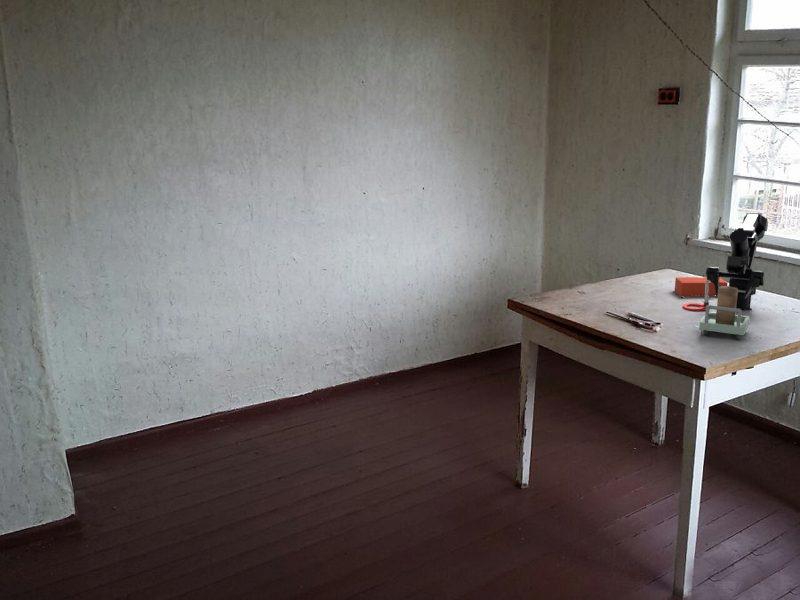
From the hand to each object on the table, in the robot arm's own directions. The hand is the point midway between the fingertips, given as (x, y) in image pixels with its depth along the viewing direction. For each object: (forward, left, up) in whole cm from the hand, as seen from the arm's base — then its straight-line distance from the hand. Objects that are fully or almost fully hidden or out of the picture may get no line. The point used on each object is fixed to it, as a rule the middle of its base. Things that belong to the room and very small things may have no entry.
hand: (730, 296), depth 264 cm
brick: (-11, -44, -12) cm, 46 cm away
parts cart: (+4, +6, -11) cm, 14 cm away
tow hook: (0, -24, -12) cm, 26 cm away
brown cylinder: (+4, +6, -8) cm, 11 cm away
